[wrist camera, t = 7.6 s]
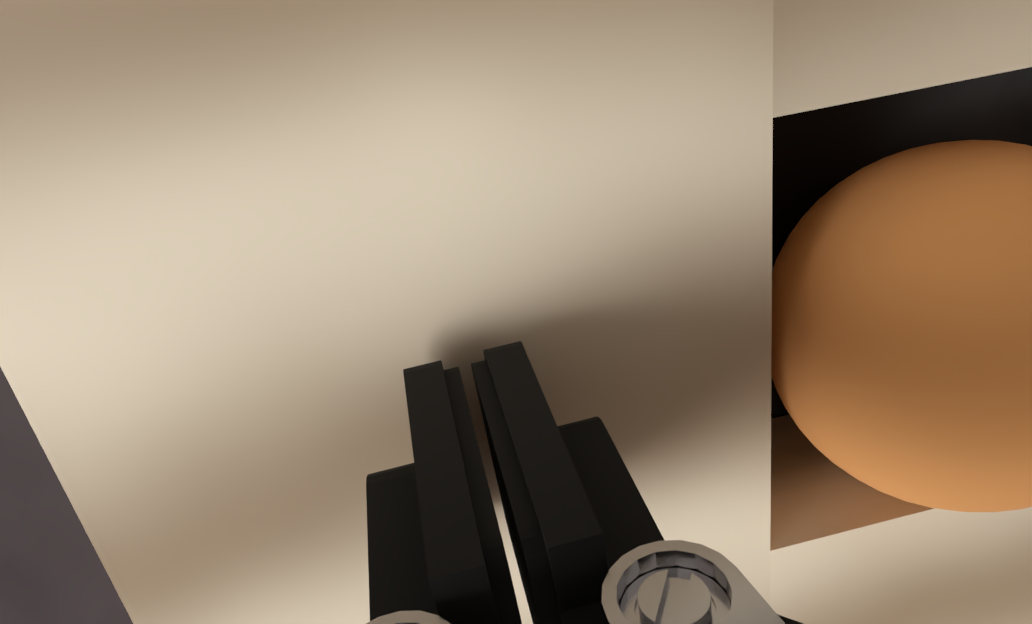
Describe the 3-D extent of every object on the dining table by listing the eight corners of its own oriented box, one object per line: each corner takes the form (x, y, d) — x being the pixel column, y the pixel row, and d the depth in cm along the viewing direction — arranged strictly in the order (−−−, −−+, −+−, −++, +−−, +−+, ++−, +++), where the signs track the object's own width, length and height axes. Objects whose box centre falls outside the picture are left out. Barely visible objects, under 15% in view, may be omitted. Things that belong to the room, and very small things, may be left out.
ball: (775, 540, 11) (1308, 583, 9) (782, 101, 11) (1312, 78, 9) (749, 464, 16) (1074, 484, 15) (754, 181, 17) (1076, 174, 15)
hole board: (-111, -197, 10) (-324, -261, 7) (1263, -382, 12) (1582, -495, 9) (282, 720, 18) (268, 882, 15) (1061, 514, 20) (1191, 619, 17)
